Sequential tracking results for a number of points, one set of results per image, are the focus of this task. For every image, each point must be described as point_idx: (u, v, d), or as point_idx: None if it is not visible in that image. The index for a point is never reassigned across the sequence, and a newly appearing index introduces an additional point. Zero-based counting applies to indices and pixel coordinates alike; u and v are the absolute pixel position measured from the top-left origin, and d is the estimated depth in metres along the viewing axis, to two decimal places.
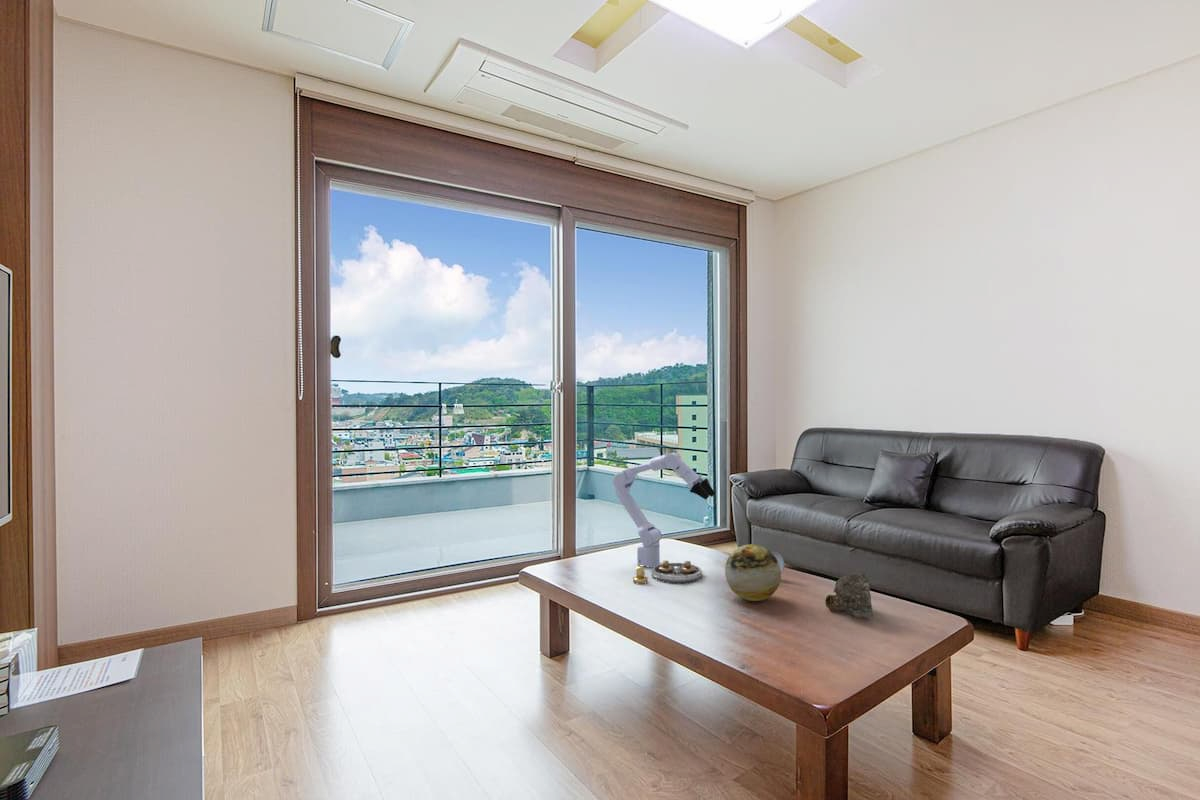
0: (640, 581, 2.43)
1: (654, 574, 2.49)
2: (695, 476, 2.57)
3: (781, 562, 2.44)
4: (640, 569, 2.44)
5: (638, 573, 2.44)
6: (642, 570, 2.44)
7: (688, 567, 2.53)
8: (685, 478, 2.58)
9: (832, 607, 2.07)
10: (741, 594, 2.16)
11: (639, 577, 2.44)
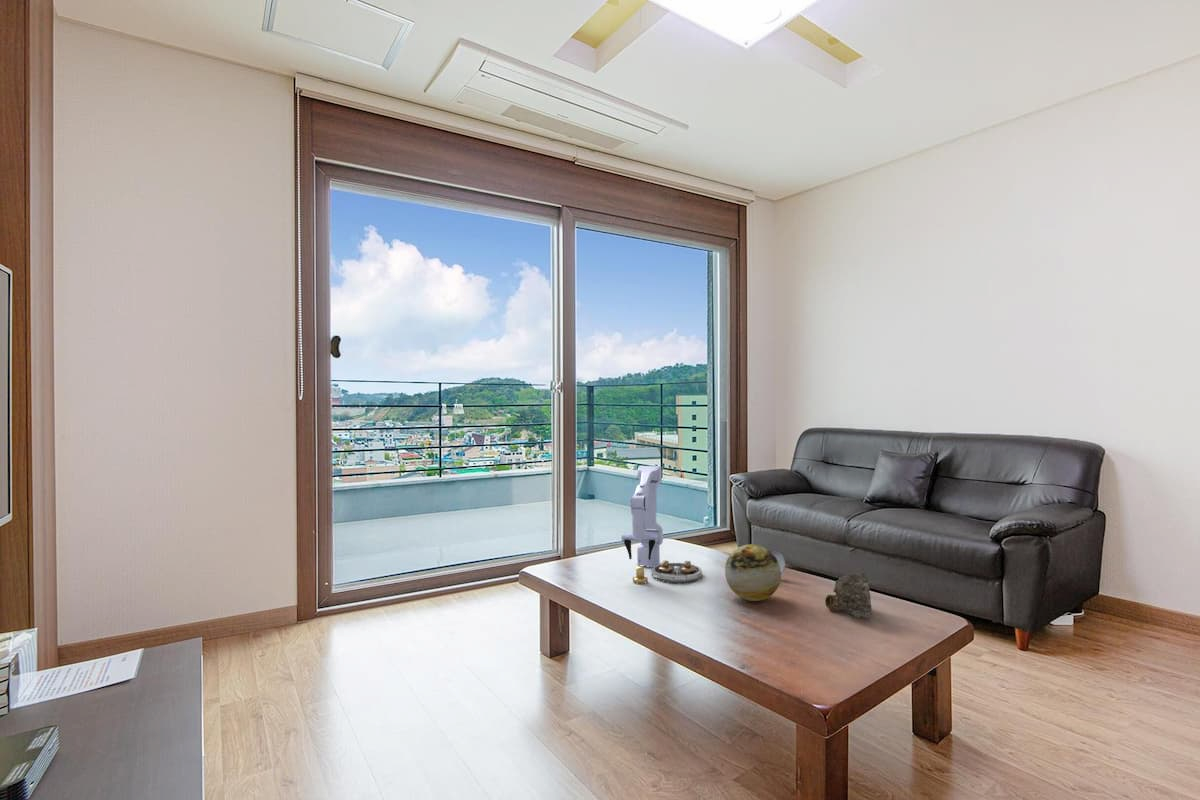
0: (640, 581, 2.43)
1: (654, 574, 2.49)
2: (635, 535, 2.43)
3: (782, 562, 2.44)
4: (640, 569, 2.44)
5: (638, 573, 2.44)
6: (642, 570, 2.44)
7: (688, 567, 2.53)
8: None
9: (832, 607, 2.07)
10: (741, 594, 2.16)
11: (639, 577, 2.44)
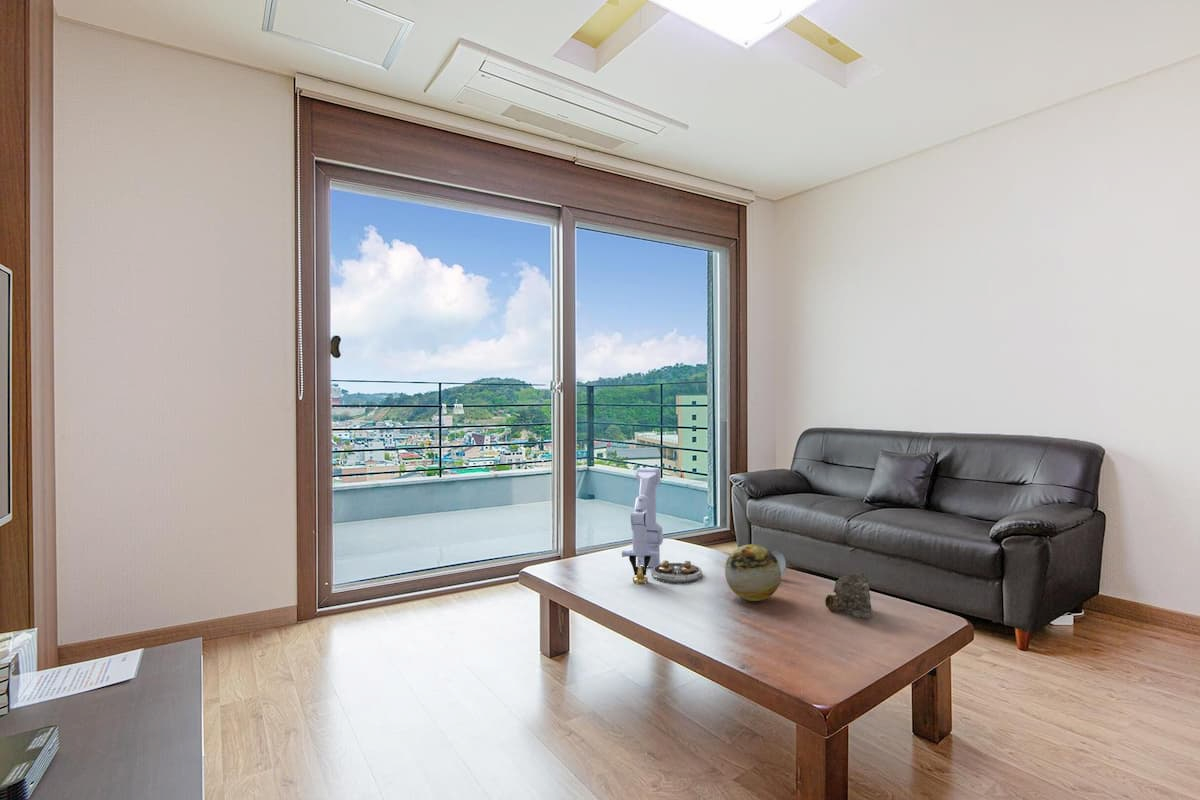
0: (640, 581, 2.43)
1: (654, 574, 2.49)
2: (635, 551, 2.43)
3: (783, 562, 2.45)
4: (640, 569, 2.44)
5: (638, 573, 2.44)
6: (642, 570, 2.44)
7: (688, 567, 2.53)
8: None
9: (832, 607, 2.07)
10: (741, 594, 2.16)
11: (639, 577, 2.44)
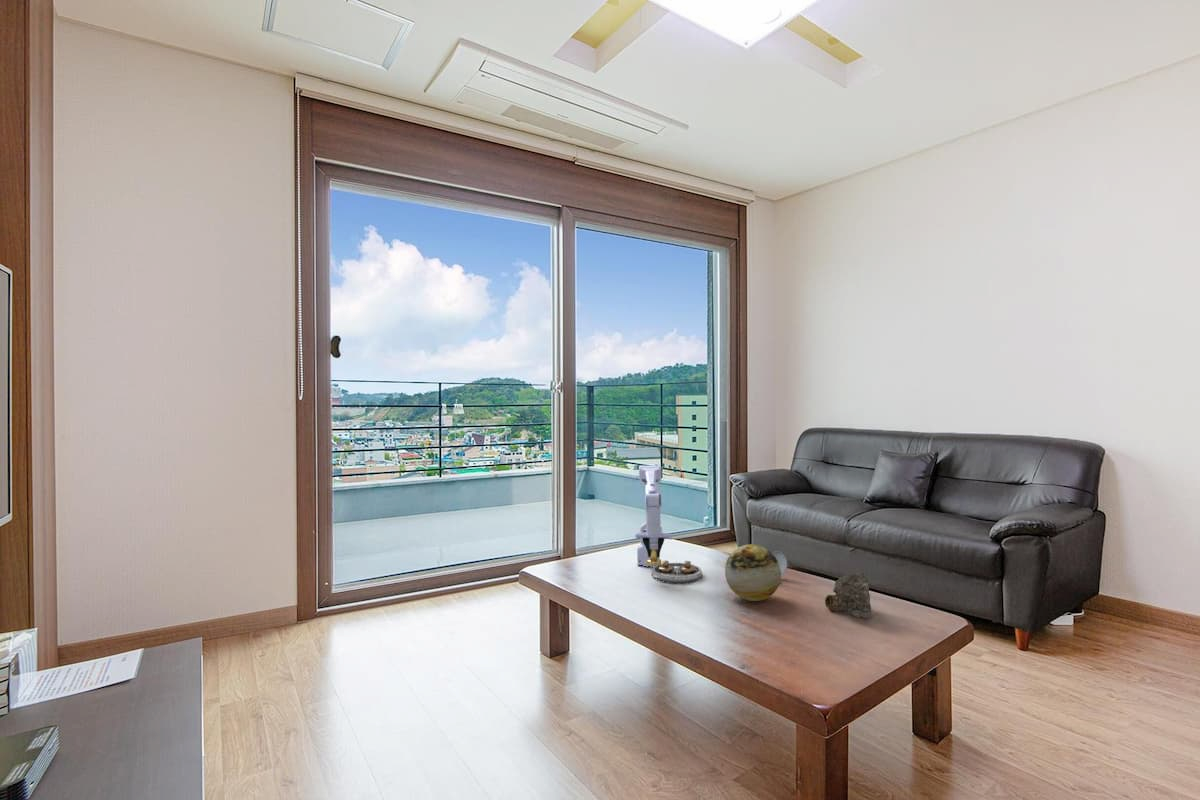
0: (654, 563, 2.44)
1: (654, 574, 2.49)
2: (649, 533, 2.44)
3: (784, 561, 2.45)
4: (654, 551, 2.44)
5: (652, 555, 2.45)
6: (656, 552, 2.45)
7: (688, 567, 2.53)
8: None
9: (832, 607, 2.07)
10: (741, 594, 2.16)
11: (653, 559, 2.45)
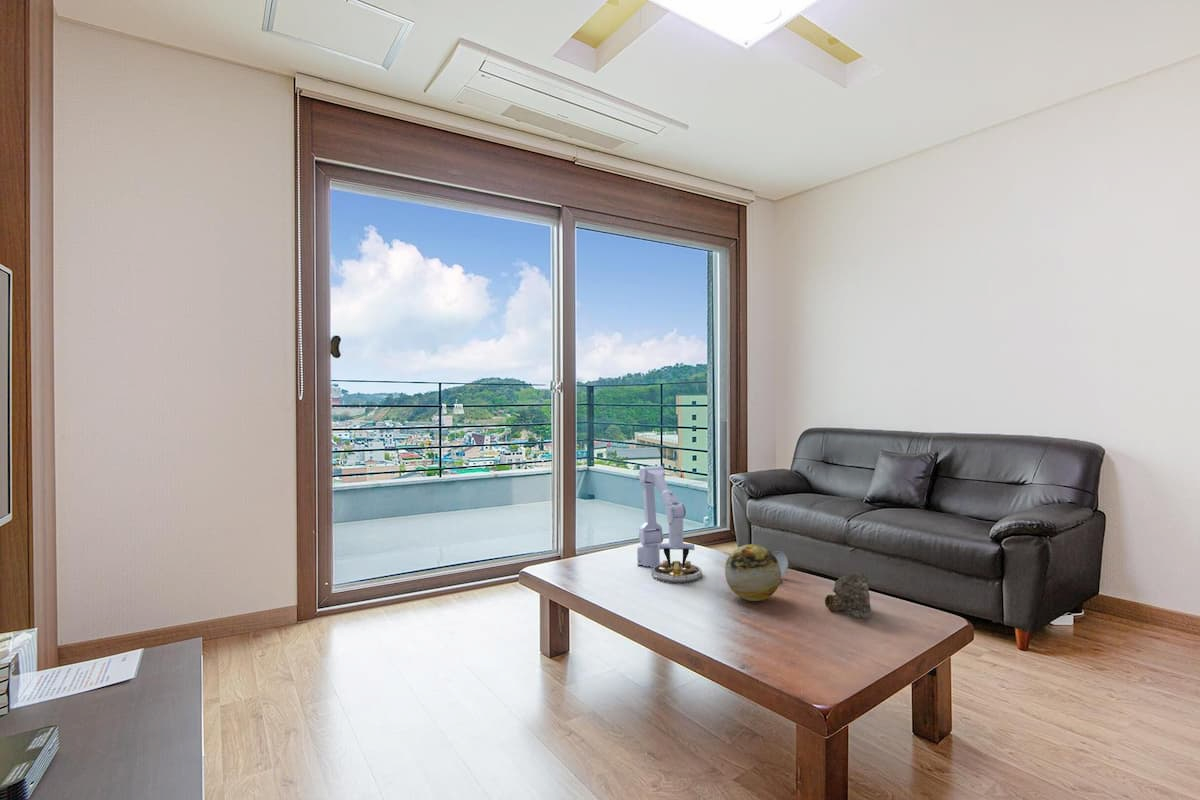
0: None
1: (654, 574, 2.49)
2: (672, 544, 2.45)
3: (785, 561, 2.45)
4: (676, 564, 2.46)
5: (674, 568, 2.46)
6: (678, 565, 2.46)
7: (688, 567, 2.53)
8: None
9: (831, 607, 2.07)
10: (741, 594, 2.16)
11: (675, 572, 2.46)
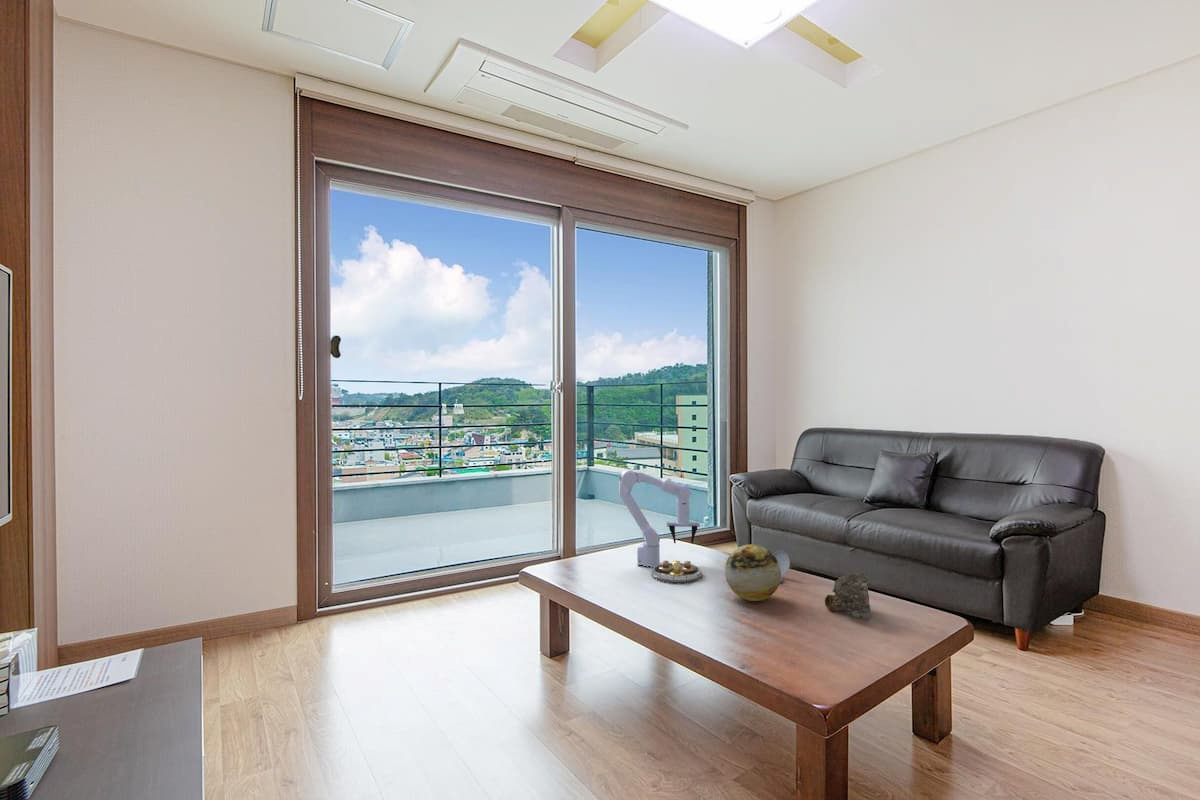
0: None
1: (654, 574, 2.49)
2: (679, 521, 2.68)
3: (787, 561, 2.46)
4: (676, 564, 2.46)
5: (674, 568, 2.46)
6: (678, 565, 2.46)
7: (688, 567, 2.53)
8: None
9: (831, 607, 2.07)
10: (741, 594, 2.16)
11: (675, 572, 2.46)
